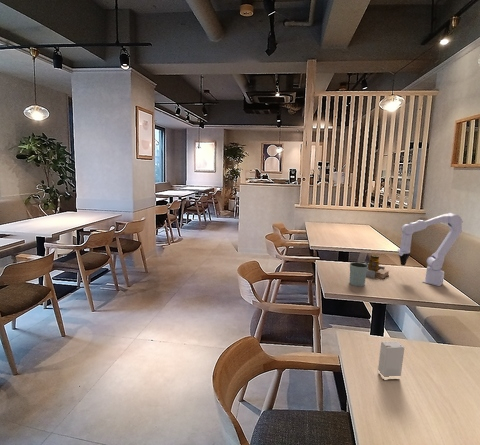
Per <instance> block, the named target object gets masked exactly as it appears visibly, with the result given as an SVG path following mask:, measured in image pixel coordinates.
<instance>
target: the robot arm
mask: <svg viewBox="0 0 480 445" xmlns="http://www.w3.org/2000/svg"><path fill="white" fill-rule="evenodd" d="M463 222H464V221H463V219H462V217H461V216H460V215H459V214H455V213H453V212H447V213H443V214H441V215H438V216H435V217H432V218H429V219H426V220H423V219H418V220H416V221H415V222H414V221H413V222H409V224H408V223H405V224H403V225H402V226H401V228H400V230H401V237H400V243H399V244H400V245H399V249H397V251H398V257H399V260H400V265H401V266H406V263H407V261H408V260H409V257H410V256H411V254H410V253H411V246H412V237H413V234H414V233H416V232H420V231H423V230H425V229H427V227H429V226H432V225H436V224H440V223H444V224H447V225H448V227H449V231H448V233H447V235H446V236H445V238H444V239H443V241H442V242H441V244H440V245H439V246H438V248H437V249H436V251H435V252H433V253H432V254H431V255H430V256H429V257H427V259H426V264H427V266H426V270H425V271H426V272H425V279H424V280H423V281H422V283H426V284H429V285H433V286H437V287H441V286H442V285H443V284H444V280H445V271H444V270H442V268H443V264H444V262H445V257H446V256H447V254H448V252H449V251H450V250H451V248H452V246H453V245H454V243H455V242H456V240H457V239H458V238H459V236H460V235H461V233H462V227H463V226H462V225H463Z"/></svg>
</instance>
